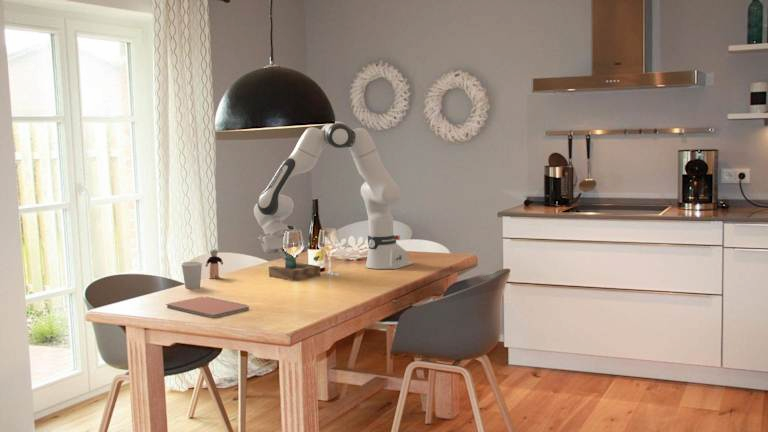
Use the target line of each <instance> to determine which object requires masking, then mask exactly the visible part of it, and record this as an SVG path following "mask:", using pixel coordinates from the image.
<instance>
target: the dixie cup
mask: <svg viewBox="0 0 768 432" xmlns="http://www.w3.org/2000/svg"><path fill="white" fill-rule="evenodd" d="M180 265H181V269H182V275H183V281H184V287H185V289H186V290H196V289H200V288H201V280H202V270H203V269H202V267H203V262H202V261H199V260H198V261H197V260H196V261H195V260H192V261H183V262H182V263H181V264H180Z"/></svg>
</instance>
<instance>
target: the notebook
mask: <svg viewBox="0 0 768 432" xmlns="http://www.w3.org/2000/svg"><path fill="white" fill-rule="evenodd" d="M165 305H166V307H167V308H168V309H169V308H170V309H172V310H173V309H174V310H178V311H181V312H186V313H189V314H194V315H199V316H204V317H206V318H207V317H208V318H211V319H213V318H219V317H223V316H227V315H231V314H236V313H239V312H244V311H249V309H250V305H249V306H248V305H247V304H245V303H239V302H234V301H230V300H224V299H221V298H220V299H219V298H215V297H209V296H198V297H193V298H190V299H184V300H180V301H175V302H174V301H173V302H170V303H165Z"/></svg>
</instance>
